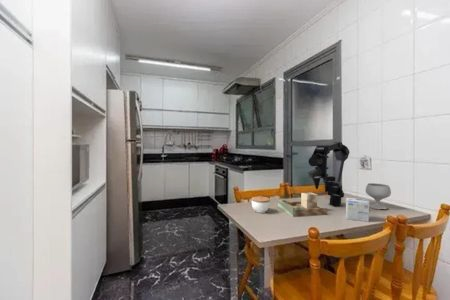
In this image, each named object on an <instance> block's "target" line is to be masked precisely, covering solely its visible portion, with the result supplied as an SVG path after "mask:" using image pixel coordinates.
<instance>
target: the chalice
mask: <svg viewBox="0 0 450 300" xmlns="http://www.w3.org/2000/svg"><path fill="white" fill-rule="evenodd" d="M365 193H366V195H368V196H369V197H371V198H373V199H374V200H375V203H373V204H372V203H371V204H370V203H369V209H374V210H380V209H387V208H388V207H387V206H385V205H381V204H380V202H381V201H382V200H383V199H387V198H389V197H391V195H392V190H391V187H390V185H388V184H385V183H374V182H373V183H371V182H370V183H367V184H366V186H365ZM387 210H388V209H387Z"/></svg>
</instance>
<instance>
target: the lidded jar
mask: <svg viewBox="0 0 450 300" xmlns="http://www.w3.org/2000/svg"><path fill="white" fill-rule="evenodd" d="M270 203H271V198H269V197H266V196H262V195H259V196H253V197H251V206H252V209H253V210H254V212H255V213H258V214H265V213H266V212H267V211H268V210H269V209H270Z"/></svg>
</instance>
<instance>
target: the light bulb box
mask: <svg viewBox="0 0 450 300" xmlns="http://www.w3.org/2000/svg"><path fill="white" fill-rule="evenodd" d="M369 204H370V201H369V200H368V199H366V198H365V199H364V198H352V197H345V218H346V220H351V221H359V222H367V223H368V222H369V221H370V207H369Z"/></svg>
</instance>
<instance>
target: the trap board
mask: <svg viewBox="0 0 450 300" xmlns="http://www.w3.org/2000/svg"><path fill="white" fill-rule="evenodd" d="M277 209H279V210H280V211H282V212H283V213H286V214H287V215H289V216H291V217H310V216H323V215H327V214H328V208H327V207H320V206H318V205H317V208H305V207H303V206H301V200H300V201H289V200H288V199H278V200H277Z"/></svg>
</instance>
